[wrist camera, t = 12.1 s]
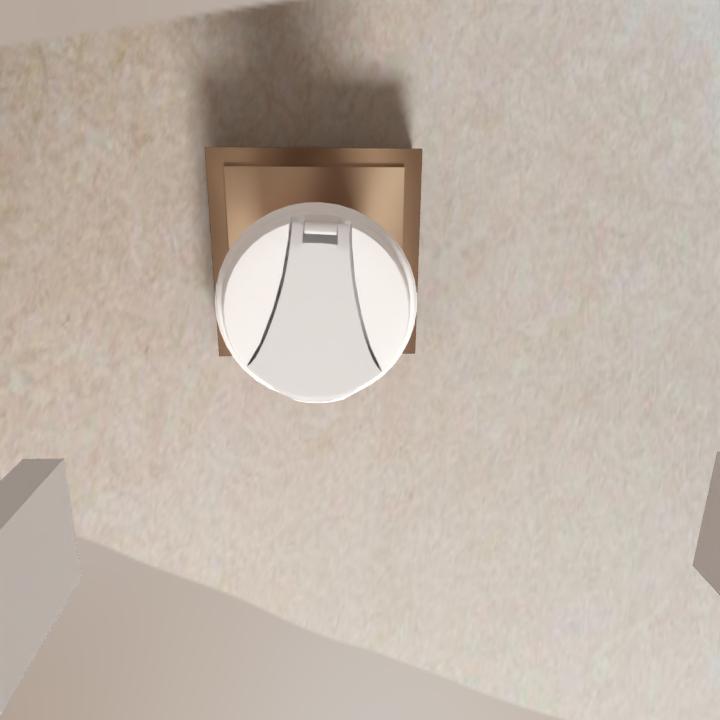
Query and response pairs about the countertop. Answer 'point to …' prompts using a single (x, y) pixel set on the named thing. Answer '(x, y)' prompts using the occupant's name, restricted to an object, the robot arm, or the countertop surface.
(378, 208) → the plinth
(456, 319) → the countertop surface
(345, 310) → the paper cup
